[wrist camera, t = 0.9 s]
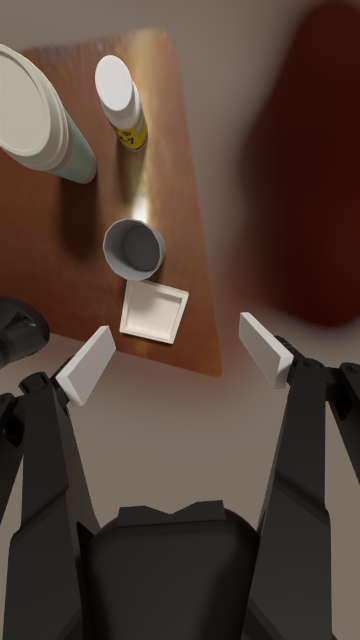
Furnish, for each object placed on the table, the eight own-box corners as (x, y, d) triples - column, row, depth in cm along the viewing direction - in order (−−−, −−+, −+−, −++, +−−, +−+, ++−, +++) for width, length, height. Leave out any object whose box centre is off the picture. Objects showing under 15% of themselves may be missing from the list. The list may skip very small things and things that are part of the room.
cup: (157, 276, 35) (150, 288, 26) (120, 261, 33) (98, 268, 24) (171, 236, 31) (169, 234, 22) (130, 217, 30) (110, 206, 21)
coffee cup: (79, 109, 24) (-3, -2, 13) (115, 175, 27) (74, 130, 16) (39, 147, 25) (-64, 76, 15) (78, 204, 29) (18, 181, 18)
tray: (122, 326, 40) (119, 331, 37) (130, 275, 34) (127, 278, 32) (172, 338, 41) (172, 344, 39) (187, 291, 36) (188, 295, 34)
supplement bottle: (113, 140, 25) (85, 96, 18) (123, 101, 23) (97, 33, 16) (141, 159, 26) (127, 126, 19) (153, 123, 24) (142, 69, 17)
